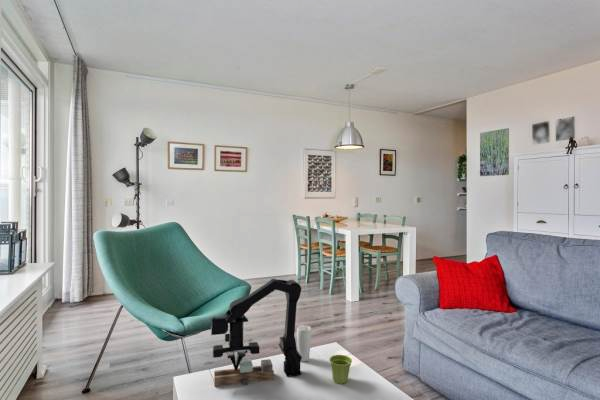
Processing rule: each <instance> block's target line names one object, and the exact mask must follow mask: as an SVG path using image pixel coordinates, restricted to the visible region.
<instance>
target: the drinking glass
mask: <svg viewBox="0 0 600 400" xmlns="http://www.w3.org/2000/svg"><path fill="white" fill-rule="evenodd" d="M311 341H312V327H311V326H310V325H305V324H304V325H299V326H297V327H296V348H297V351H298V352H299V354H300V355H301V357H302V359H301V361H300V362H304V363H305V361H306V362H308V361H310V354H311V353H310V352H311Z"/></svg>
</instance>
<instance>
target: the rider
mask: <svg viewBox="0 0 600 400" xmlns="http://www.w3.org/2000/svg"><path fill="white" fill-rule="evenodd" d="M253 365H254V364H253V362H252V359H244V360H243V359H242V360H241V362H240V364H239V366H238V368H240V373H249V372H251V371H253V367H254V366H253Z"/></svg>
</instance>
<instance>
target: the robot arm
mask: <svg viewBox="0 0 600 400" xmlns="http://www.w3.org/2000/svg"><path fill="white" fill-rule="evenodd" d="M275 291H280V292H283V293H285V298H286V308H285V319H284V321H285V322H284V323H285V324H284V333H283V336H279V343H278V347H279V348H280V350H281V352H282V354H283V356H284V361H283V373H284V374H285V376H286V377H294V376H301V375H302V372H301V362H302V361H301V359H302V357H301V355H300V354H299V352H298V347H297V340H296V337H295V336H296V335H295V332H296V322H297V321H296V318H297V305H298V302H299V299H300V297H301V293H302V286H301V285H300V283H298V282H297V281H296V280H294V279H289V280H286V279H285V280H284V279H276V278H271V279H270V280H269V281H267V282H266V283H265V284H263V285H261V286H260V287H258V288H256V289H255V290H254V291H252V292H251V293H249V294H248V295H245V296H243V297H239V298H238V299H236V300H233V301H231V302H230V304H229V308H228V309H227V311H226V312H225V314H224V316H222V317H220V316H219V317H214V316H213V317H211V323H210V335H211V336H216V335H224V342H225V343H228V347H223V346H224V345H223V344H217V345H213V347H212V358H222V357H223V356H224V354H226V355H227V356H226V357H227V359H229V360H230V361H231V363H232V365H233V369H235V371H237V369H238V368H239V364H240V362H241V361H242V360H243V358H245V357H246V352H247V351H249V353H250V354H252V355H255V354H260V345H259V343H258V342H257V341H252V342H248V345H244V323H248V322H249V319H248V317H247V316H246V315H245V314H247V312H248V311H249V310H250V308H251V307H252V306H253V305H255V304H256V303H259V301H261V300H262V299H264V298H265V297H267V296H268V295H270V294H272V293H273V292H275ZM228 331H229V333H228ZM236 352H237V353H236ZM235 353H236V354H235ZM235 355H236V356H235Z"/></svg>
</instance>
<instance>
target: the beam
mask: <svg viewBox="0 0 600 400" xmlns="http://www.w3.org/2000/svg"><path fill="white" fill-rule="evenodd" d="M273 367H274V366H273V363H272V360H271V359H270V358H269V359H261V360H260V365H256V366H253V371H251V372H249V373H240V368H239V367H238V369H237V371H235V369H234V368H227V369H219V370H218V369H216V370H214V376H213V378H214V387H222V386H231V385H238V384H241V386H246V385H249V383H256V382H263V381H274V380H275V372H274V369H273Z"/></svg>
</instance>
